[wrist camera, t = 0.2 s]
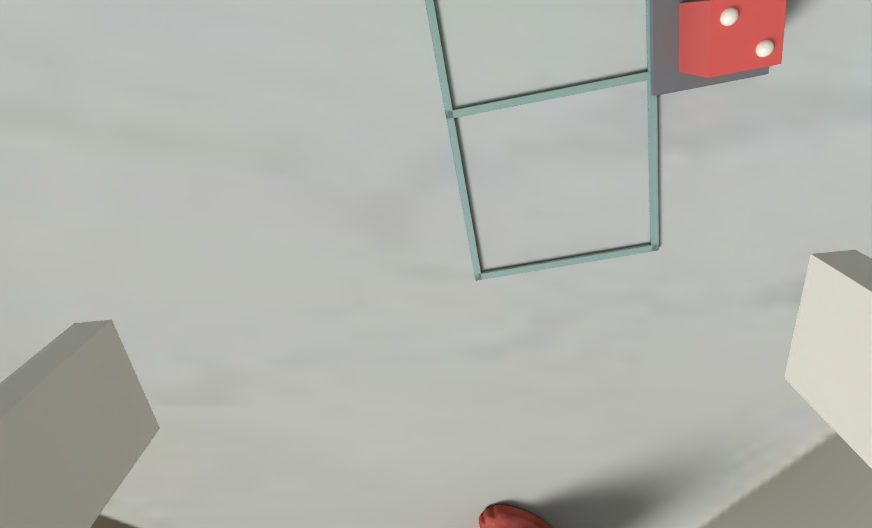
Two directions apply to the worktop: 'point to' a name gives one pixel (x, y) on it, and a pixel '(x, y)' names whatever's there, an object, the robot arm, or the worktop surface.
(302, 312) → the worktop surface
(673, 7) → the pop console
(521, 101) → the track
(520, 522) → the stacking bear
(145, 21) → the worktop surface
